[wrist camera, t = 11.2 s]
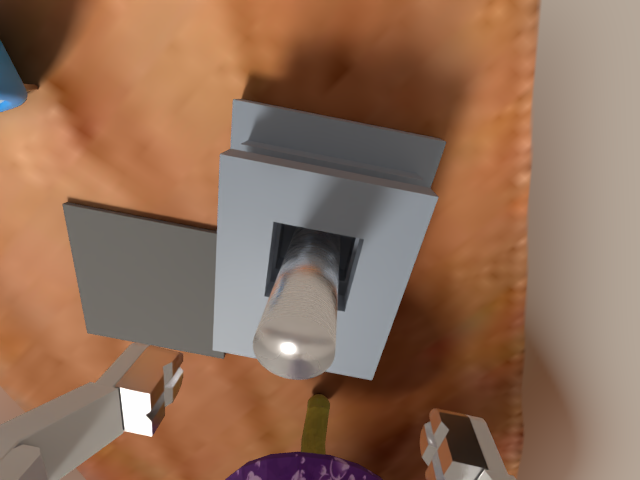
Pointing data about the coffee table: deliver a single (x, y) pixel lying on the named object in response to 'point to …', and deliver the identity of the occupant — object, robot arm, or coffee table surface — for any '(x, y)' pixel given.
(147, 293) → the rubber mat
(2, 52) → the alarm clock
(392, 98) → the coffee table surface
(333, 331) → the steel pin
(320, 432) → the decorative mushroom
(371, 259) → the grey block with hole
